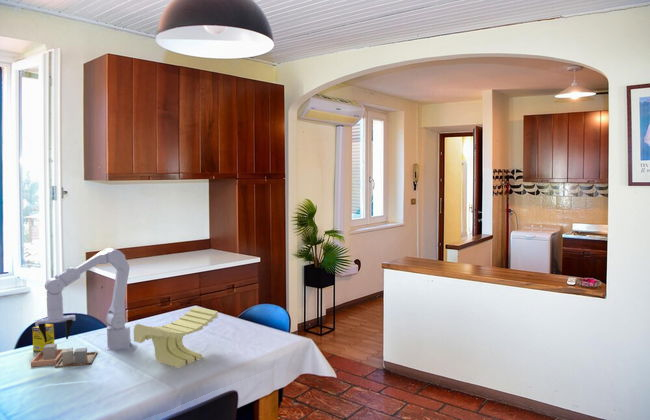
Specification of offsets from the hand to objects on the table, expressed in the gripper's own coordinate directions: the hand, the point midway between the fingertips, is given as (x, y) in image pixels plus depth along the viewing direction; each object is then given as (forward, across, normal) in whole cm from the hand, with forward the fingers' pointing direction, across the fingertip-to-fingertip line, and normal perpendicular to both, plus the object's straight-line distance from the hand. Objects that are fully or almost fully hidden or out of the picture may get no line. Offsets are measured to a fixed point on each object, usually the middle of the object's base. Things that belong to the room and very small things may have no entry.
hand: (56, 339), depth 203 cm
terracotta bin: (+8, -3, 0) cm, 9 cm away
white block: (+8, +4, -7) cm, 11 cm away
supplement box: (+8, -4, +15) cm, 18 cm away
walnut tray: (+8, +7, -6) cm, 12 cm away
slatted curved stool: (+9, +43, -25) cm, 51 cm away
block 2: (+8, +8, -9) cm, 15 cm away
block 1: (+8, -2, +2) cm, 8 cm away
